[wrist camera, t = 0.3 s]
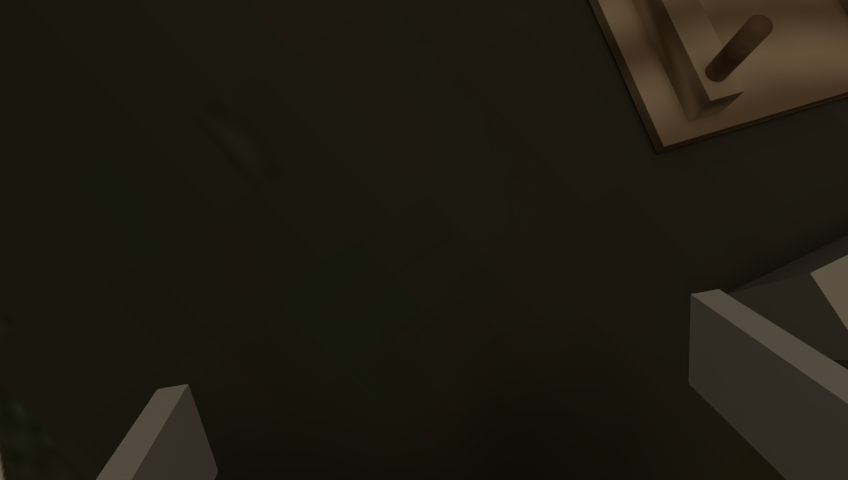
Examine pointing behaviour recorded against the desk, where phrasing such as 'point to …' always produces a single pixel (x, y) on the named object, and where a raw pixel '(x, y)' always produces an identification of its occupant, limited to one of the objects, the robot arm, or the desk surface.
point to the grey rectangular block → (807, 298)
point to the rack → (725, 61)
